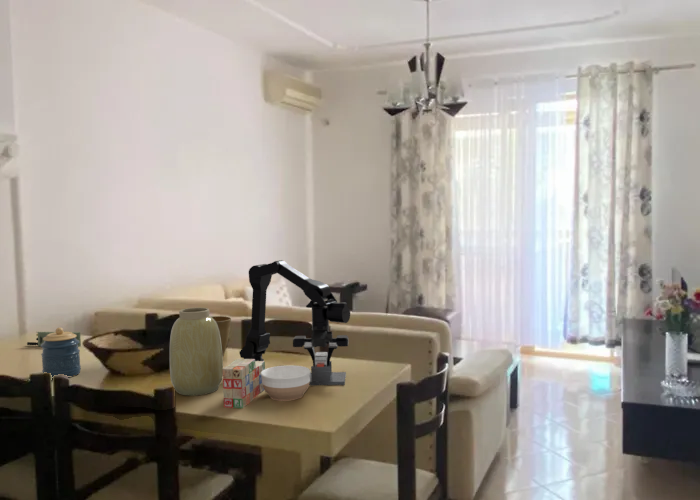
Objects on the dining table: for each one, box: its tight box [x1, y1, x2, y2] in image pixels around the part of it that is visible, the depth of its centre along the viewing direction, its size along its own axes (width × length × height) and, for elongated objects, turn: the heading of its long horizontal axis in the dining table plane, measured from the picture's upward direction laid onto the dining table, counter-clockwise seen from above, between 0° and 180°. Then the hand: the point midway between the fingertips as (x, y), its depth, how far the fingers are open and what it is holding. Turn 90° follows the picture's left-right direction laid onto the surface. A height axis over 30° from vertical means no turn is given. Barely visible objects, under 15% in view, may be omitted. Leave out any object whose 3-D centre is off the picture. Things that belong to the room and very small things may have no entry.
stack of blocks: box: [222, 358, 266, 409], centre depth 207 cm, size 21×6×12 cm, turn 168°
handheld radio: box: [26, 331, 82, 348], centre depth 288 cm, size 7×3×25 cm
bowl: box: [261, 364, 311, 402], centre depth 208 cm, size 16×16×8 cm
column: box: [315, 351, 328, 366], centre depth 223 cm, size 4×5×8 cm
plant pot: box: [210, 315, 232, 357], centre depth 259 cm, size 15×15×16 cm
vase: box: [168, 307, 224, 396], centre depth 215 cm, size 17×17×27 cm
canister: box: [41, 327, 82, 377], centre depth 239 cm, size 13×13×18 cm
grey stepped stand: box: [309, 360, 347, 386], centre depth 224 cm, size 16×12×7 cm
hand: (321, 365), depth 223 cm, fingers closed on column, 4 cm apart
